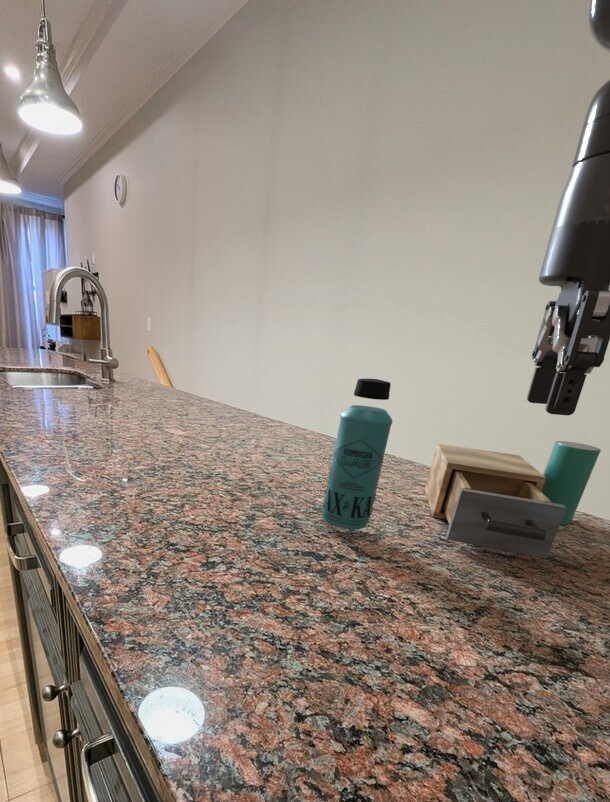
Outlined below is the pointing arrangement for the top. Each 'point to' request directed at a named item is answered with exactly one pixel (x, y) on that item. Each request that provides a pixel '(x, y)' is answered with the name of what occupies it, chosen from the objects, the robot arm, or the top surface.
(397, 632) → the top surface
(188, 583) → the top surface
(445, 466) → the cabinet
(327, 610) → the top surface
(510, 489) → the drawer
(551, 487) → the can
